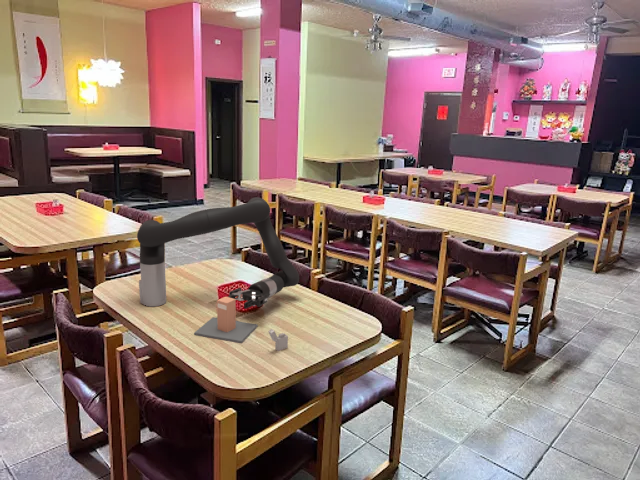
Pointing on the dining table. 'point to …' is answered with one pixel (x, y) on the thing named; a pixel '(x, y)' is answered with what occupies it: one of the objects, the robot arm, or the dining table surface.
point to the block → (226, 314)
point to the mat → (234, 335)
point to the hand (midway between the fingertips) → (235, 303)
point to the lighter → (279, 340)
